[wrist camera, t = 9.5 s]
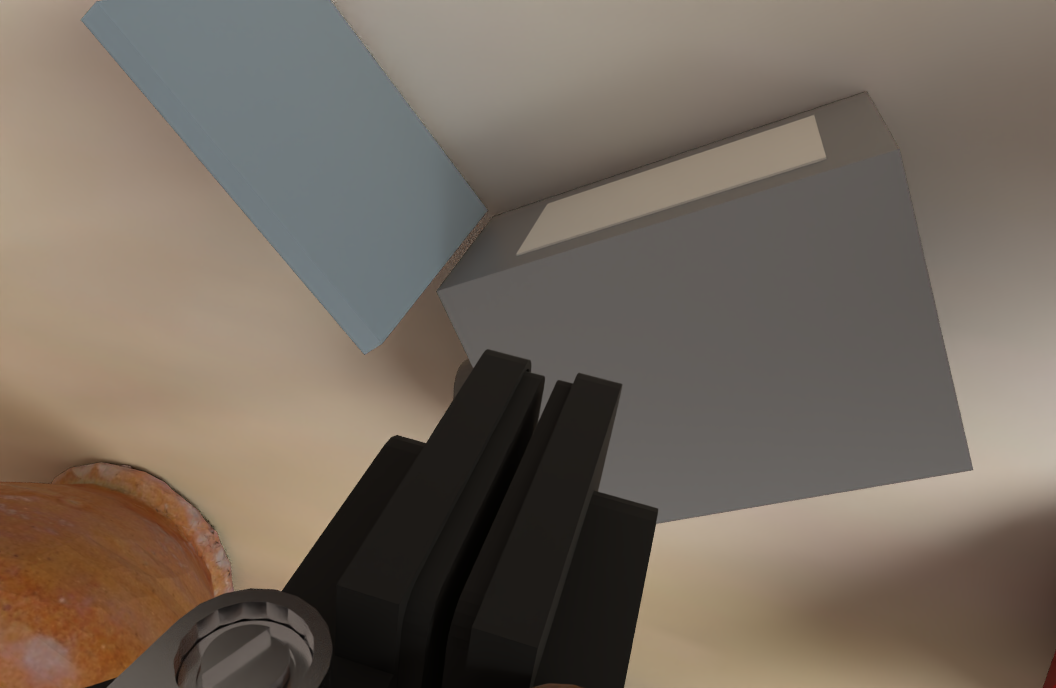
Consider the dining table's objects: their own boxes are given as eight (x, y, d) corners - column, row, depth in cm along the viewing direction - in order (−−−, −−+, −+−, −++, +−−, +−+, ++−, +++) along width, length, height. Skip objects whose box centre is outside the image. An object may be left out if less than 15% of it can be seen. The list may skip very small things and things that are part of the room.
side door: (277, -12, 34) (65, 37, 24) (302, -37, 34) (96, 1, 23) (460, 228, 38) (347, 365, 27) (487, 210, 37) (382, 343, 26)
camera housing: (865, 89, 32) (898, 146, 25) (930, 358, 36) (972, 469, 29) (445, 230, 38) (380, 306, 32) (543, 442, 43) (505, 549, 36)
